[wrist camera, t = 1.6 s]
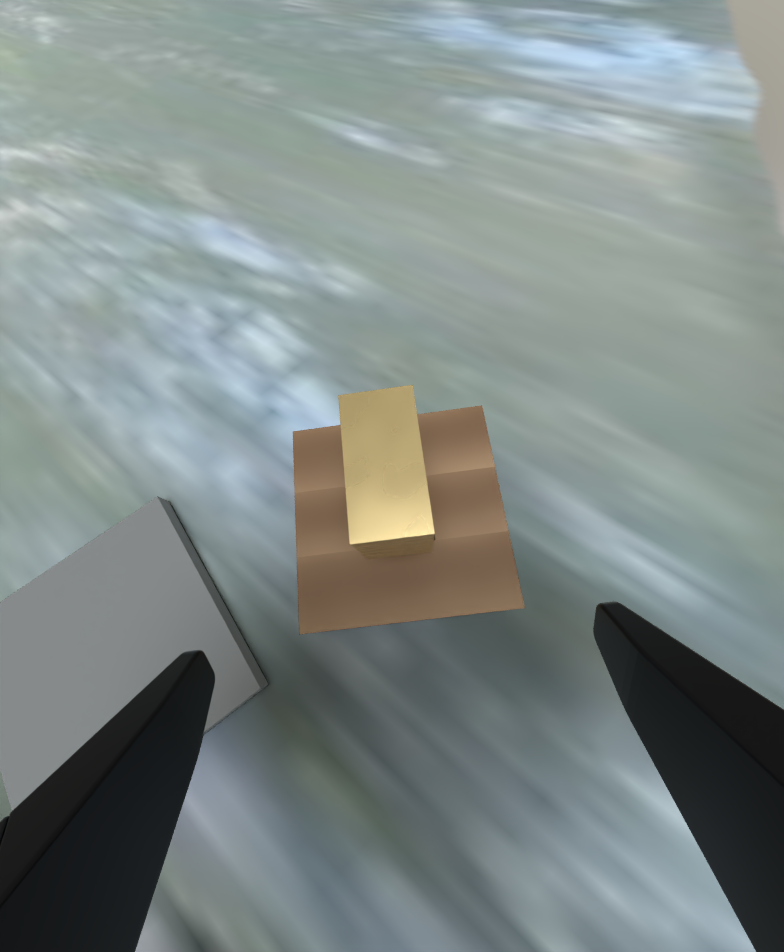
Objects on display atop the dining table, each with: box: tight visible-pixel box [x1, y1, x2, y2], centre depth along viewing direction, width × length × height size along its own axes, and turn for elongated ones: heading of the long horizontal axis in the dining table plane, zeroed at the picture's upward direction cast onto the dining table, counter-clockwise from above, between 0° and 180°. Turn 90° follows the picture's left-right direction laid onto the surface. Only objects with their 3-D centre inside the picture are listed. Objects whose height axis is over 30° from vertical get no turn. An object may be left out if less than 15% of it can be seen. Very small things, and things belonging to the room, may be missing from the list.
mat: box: [0, 497, 268, 810], centre depth 20 cm, size 12×12×1 cm
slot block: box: [293, 406, 525, 634], centre depth 20 cm, size 10×10×3 cm
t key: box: [338, 385, 435, 560], centre depth 17 cm, size 5×2×10 cm, turn 7°
